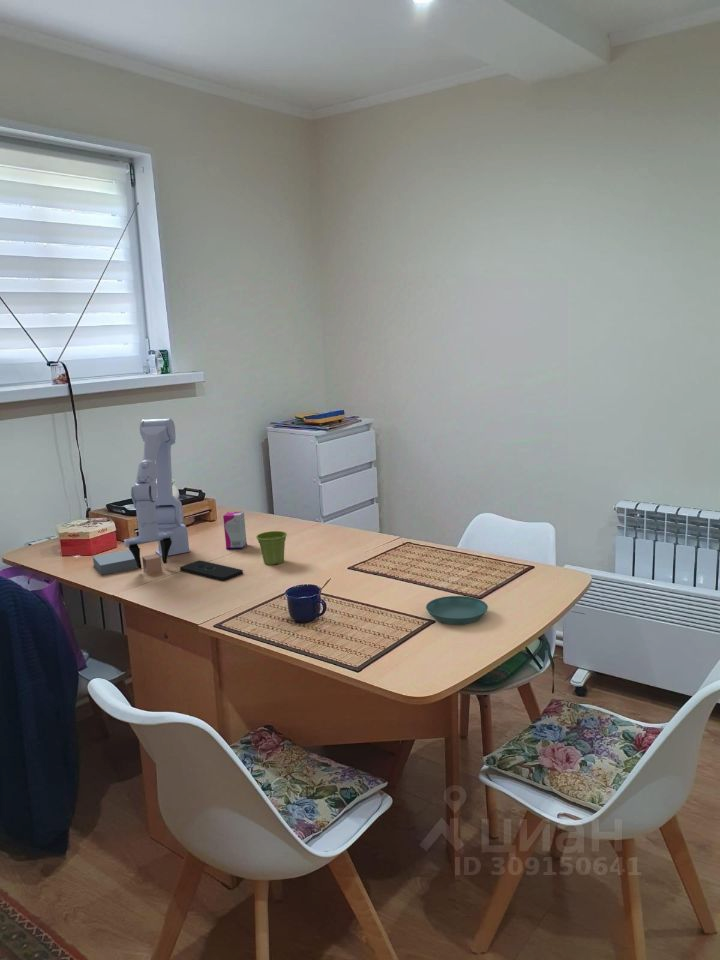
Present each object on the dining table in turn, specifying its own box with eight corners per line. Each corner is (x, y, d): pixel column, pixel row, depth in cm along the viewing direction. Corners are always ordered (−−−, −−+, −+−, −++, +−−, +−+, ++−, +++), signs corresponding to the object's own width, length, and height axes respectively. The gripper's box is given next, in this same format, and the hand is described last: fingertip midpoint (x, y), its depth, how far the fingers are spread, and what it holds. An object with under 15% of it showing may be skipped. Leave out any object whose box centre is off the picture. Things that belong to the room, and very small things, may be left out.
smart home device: (199, 559, 235) (244, 569, 223) (200, 564, 235) (244, 575, 223) (178, 566, 229) (222, 577, 216) (179, 572, 229) (223, 583, 217)
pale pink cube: (158, 567, 233) (156, 553, 232) (162, 571, 229) (160, 557, 229) (143, 570, 231) (142, 556, 230) (147, 574, 227) (145, 559, 226)
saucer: (445, 633, 172) (445, 622, 172) (415, 612, 186) (415, 602, 185) (500, 620, 178) (500, 610, 178) (467, 601, 191) (467, 591, 191)
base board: (132, 558, 245) (131, 549, 244) (141, 567, 234) (140, 557, 234) (93, 565, 239) (92, 556, 238) (101, 574, 229) (100, 565, 228)
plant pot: (252, 565, 230) (250, 538, 228) (267, 556, 238) (265, 530, 237) (279, 567, 226) (277, 540, 225) (294, 558, 235) (292, 531, 233)
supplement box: (247, 544, 254) (244, 510, 252) (242, 549, 248) (240, 515, 246) (230, 544, 255) (227, 511, 252) (225, 549, 249) (222, 515, 247)
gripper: (126, 528, 220) (131, 573, 223) (175, 520, 227) (179, 563, 230) (120, 524, 226) (125, 567, 229) (168, 516, 233) (172, 558, 236)
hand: (152, 565), depth 230 cm, fingers open, 7 cm apart
